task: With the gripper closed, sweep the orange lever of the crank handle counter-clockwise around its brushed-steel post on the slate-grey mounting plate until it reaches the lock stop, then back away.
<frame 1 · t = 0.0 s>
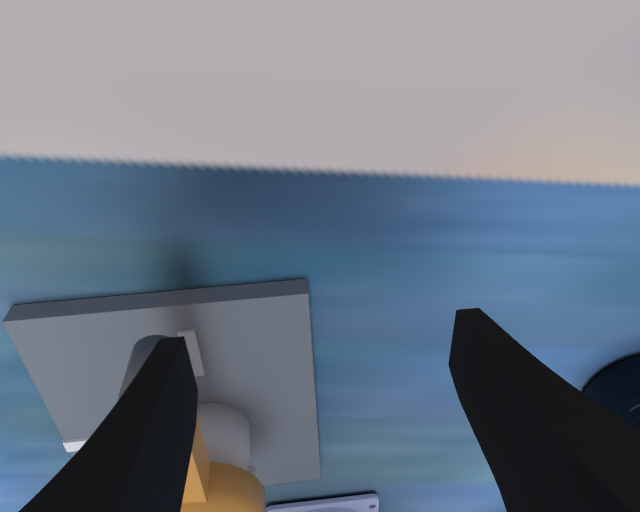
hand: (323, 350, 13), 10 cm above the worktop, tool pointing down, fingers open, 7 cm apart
supplement bottle: (626, 386, 32), on the worktop
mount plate: (191, 396, 28), on the worktop
crank handle: (185, 475, 21), point 7 cm above the worktop, hinge at 0.0°
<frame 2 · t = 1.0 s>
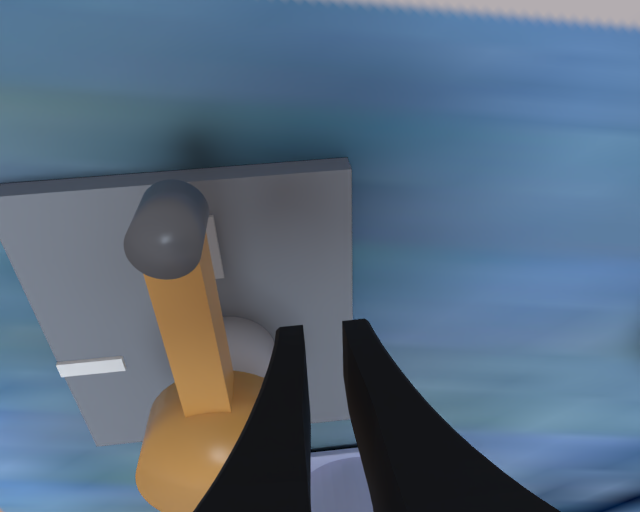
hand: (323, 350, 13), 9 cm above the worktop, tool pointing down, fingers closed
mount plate: (206, 313, 24), on the worktop
crank handle: (205, 378, 17), point 7 cm above the worktop, hinge at 0.0°
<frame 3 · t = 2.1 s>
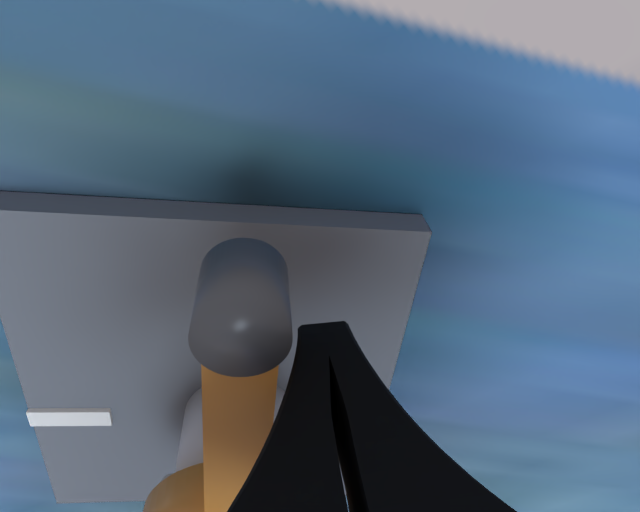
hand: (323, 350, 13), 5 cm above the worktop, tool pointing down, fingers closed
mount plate: (217, 366, 20), on the worktop
crank handle: (236, 477, 14), point 7 cm above the worktop, hinge at 0.0°, touching gripper
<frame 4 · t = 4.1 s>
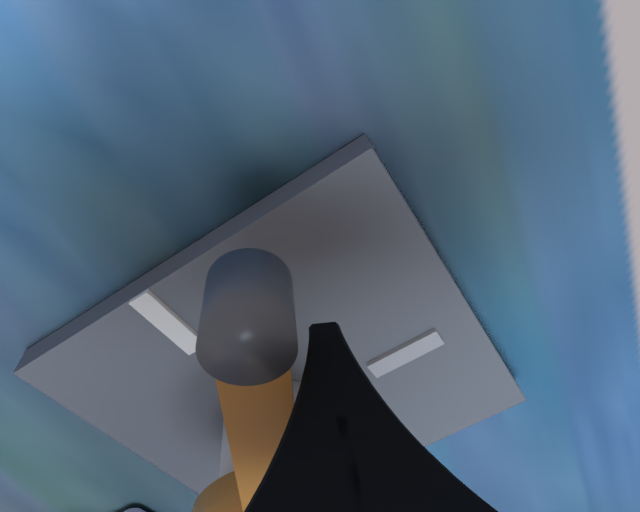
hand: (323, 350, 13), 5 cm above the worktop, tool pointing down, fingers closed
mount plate: (292, 365, 21), on the worktop
crank handle: (271, 481, 14), point 7 cm above the worktop, hinge at 59.2°, touching gripper
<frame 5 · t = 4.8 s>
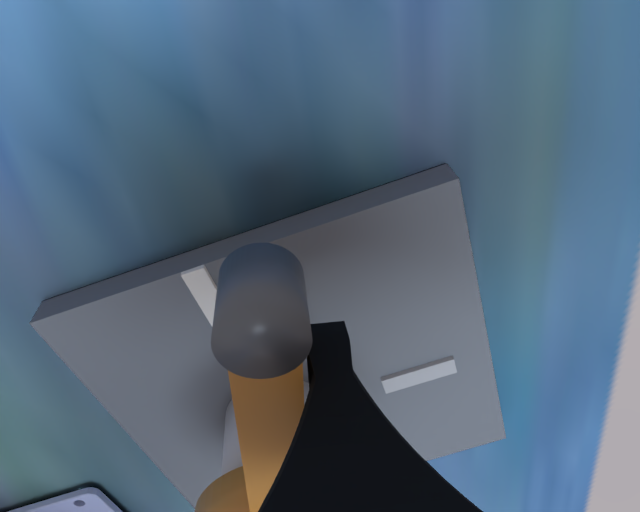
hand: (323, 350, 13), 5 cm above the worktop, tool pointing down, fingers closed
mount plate: (303, 367, 21), on the worktop
crank handle: (277, 476, 14), point 7 cm above the worktop, hinge at 72.5°, touching gripper
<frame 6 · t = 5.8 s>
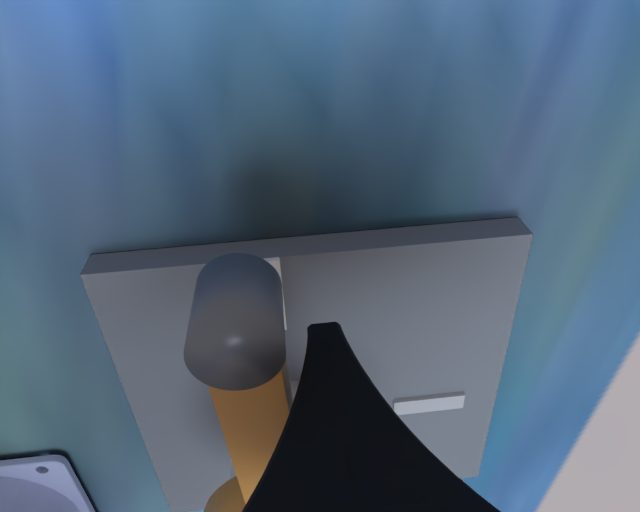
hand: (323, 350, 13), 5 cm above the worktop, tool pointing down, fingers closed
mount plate: (318, 375, 21), on the worktop
crank handle: (276, 482, 14), point 7 cm above the worktop, hinge at 92.8°, touching gripper
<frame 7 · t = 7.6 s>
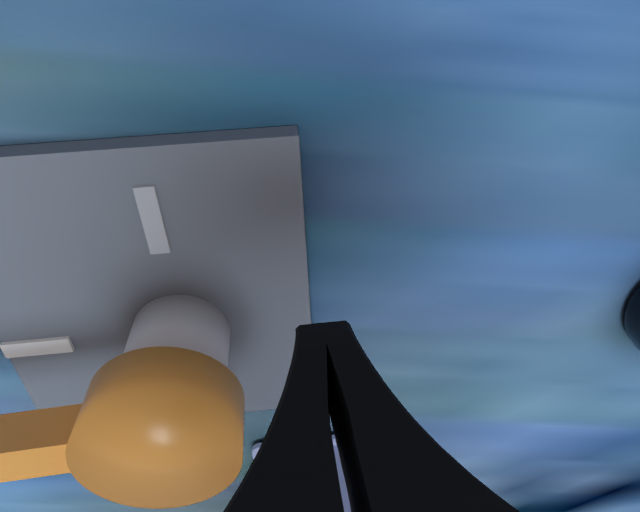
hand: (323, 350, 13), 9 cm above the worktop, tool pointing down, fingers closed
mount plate: (157, 292, 23), on the worktop
crank handle: (55, 444, 18), point 7 cm above the worktop, hinge at 92.9°
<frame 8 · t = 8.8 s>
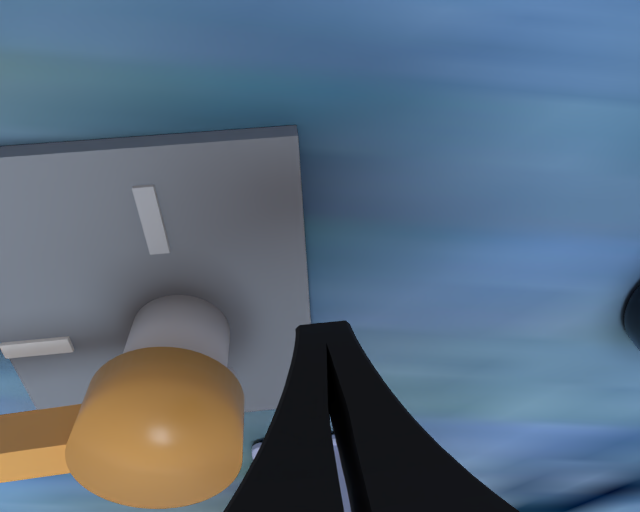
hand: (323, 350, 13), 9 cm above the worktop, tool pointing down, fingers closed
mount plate: (157, 293, 23), on the worktop
crank handle: (54, 445, 18), point 7 cm above the worktop, hinge at 92.9°
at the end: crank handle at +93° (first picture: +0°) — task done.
